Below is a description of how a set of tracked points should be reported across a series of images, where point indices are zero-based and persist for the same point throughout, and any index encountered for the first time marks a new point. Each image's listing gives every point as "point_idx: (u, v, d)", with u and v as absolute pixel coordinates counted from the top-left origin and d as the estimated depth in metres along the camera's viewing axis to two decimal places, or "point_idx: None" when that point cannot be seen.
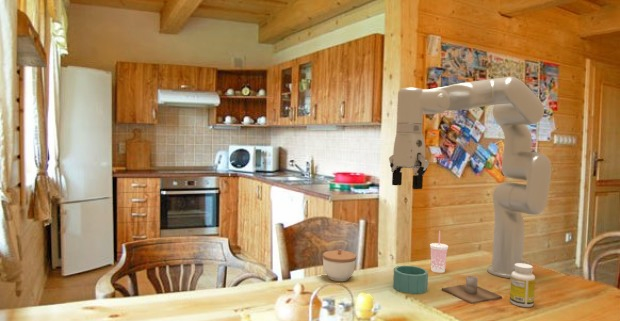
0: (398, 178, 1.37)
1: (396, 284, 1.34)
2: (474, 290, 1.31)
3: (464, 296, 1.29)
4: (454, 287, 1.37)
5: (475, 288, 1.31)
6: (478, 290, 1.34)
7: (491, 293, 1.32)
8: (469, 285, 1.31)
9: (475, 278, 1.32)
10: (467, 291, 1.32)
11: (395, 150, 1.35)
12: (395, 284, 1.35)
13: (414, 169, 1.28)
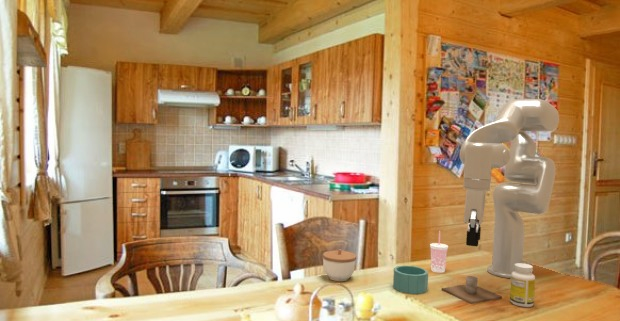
0: None
1: (396, 284, 1.34)
2: (474, 290, 1.31)
3: (464, 296, 1.29)
4: (454, 287, 1.37)
5: (475, 288, 1.31)
6: (478, 290, 1.34)
7: (491, 293, 1.32)
8: (469, 285, 1.31)
9: (475, 278, 1.32)
10: (467, 291, 1.32)
11: (483, 208, 1.27)
12: (395, 284, 1.35)
13: None
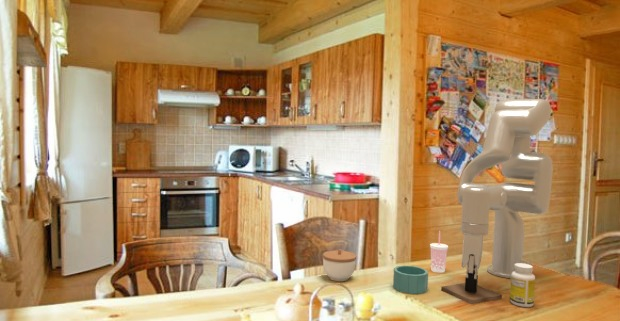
0: None
1: (396, 284, 1.34)
2: None
3: (464, 295, 1.29)
4: (454, 285, 1.36)
5: None
6: (478, 289, 1.34)
7: (491, 292, 1.32)
8: None
9: None
10: None
11: (480, 253, 1.28)
12: (395, 284, 1.35)
13: (477, 268, 1.34)
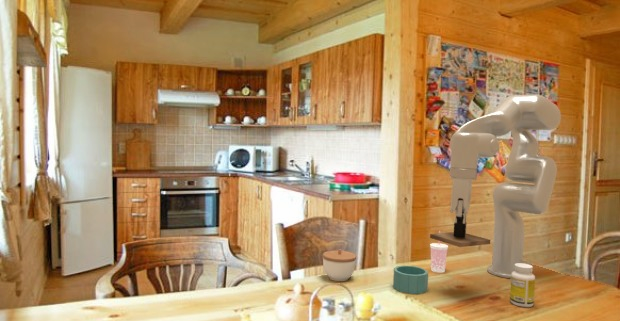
0: None
1: (396, 284, 1.34)
2: None
3: (453, 239, 1.28)
4: (443, 233, 1.36)
5: None
6: (467, 236, 1.34)
7: (479, 238, 1.32)
8: None
9: None
10: None
11: (469, 197, 1.28)
12: (395, 284, 1.35)
13: (465, 215, 1.34)
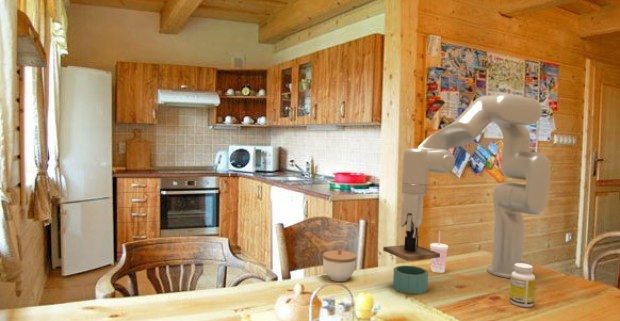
0: None
1: (396, 284, 1.34)
2: None
3: (402, 253, 1.32)
4: (396, 246, 1.40)
5: None
6: (419, 249, 1.37)
7: (430, 251, 1.35)
8: None
9: (415, 236, 1.35)
10: None
11: (418, 212, 1.31)
12: (395, 284, 1.35)
13: None
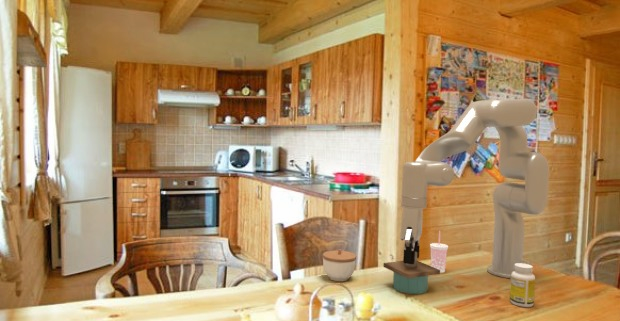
0: None
1: (396, 284, 1.34)
2: (413, 264, 1.35)
3: (402, 270, 1.32)
4: (396, 262, 1.40)
5: (414, 262, 1.35)
6: (419, 265, 1.38)
7: (430, 267, 1.36)
8: None
9: (415, 252, 1.35)
10: (407, 265, 1.35)
11: (418, 225, 1.31)
12: (395, 284, 1.35)
13: (418, 239, 1.39)
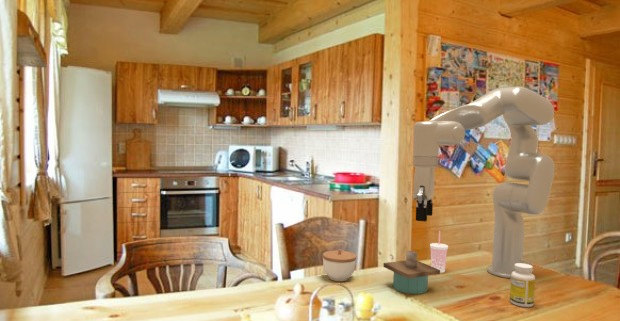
0: None
1: (396, 284, 1.34)
2: (413, 264, 1.35)
3: (402, 270, 1.32)
4: (396, 262, 1.40)
5: (414, 262, 1.35)
6: (419, 265, 1.38)
7: (430, 267, 1.36)
8: (409, 259, 1.35)
9: (415, 252, 1.35)
10: (407, 265, 1.35)
11: (430, 184, 1.32)
12: (395, 284, 1.35)
13: (431, 197, 1.40)
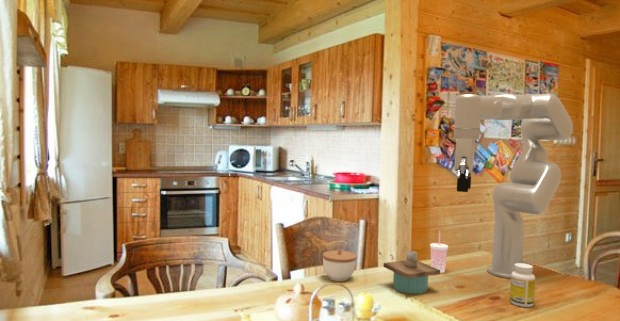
0: None
1: (396, 284, 1.34)
2: (413, 264, 1.35)
3: (402, 270, 1.32)
4: (396, 262, 1.40)
5: (414, 262, 1.35)
6: (419, 265, 1.38)
7: (430, 267, 1.36)
8: (409, 259, 1.35)
9: (415, 252, 1.35)
10: (407, 265, 1.35)
11: (472, 156, 1.34)
12: (395, 284, 1.35)
13: (470, 171, 1.42)
